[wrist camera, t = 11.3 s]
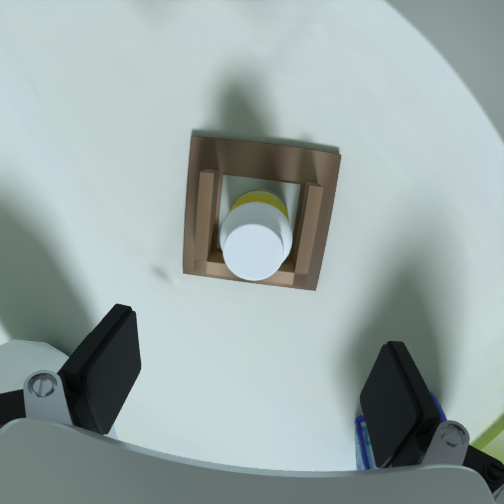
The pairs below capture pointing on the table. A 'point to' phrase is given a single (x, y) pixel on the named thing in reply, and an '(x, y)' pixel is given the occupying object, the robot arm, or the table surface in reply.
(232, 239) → the supplement bottle
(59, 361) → the geometric polyhedron
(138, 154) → the table surface
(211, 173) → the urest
